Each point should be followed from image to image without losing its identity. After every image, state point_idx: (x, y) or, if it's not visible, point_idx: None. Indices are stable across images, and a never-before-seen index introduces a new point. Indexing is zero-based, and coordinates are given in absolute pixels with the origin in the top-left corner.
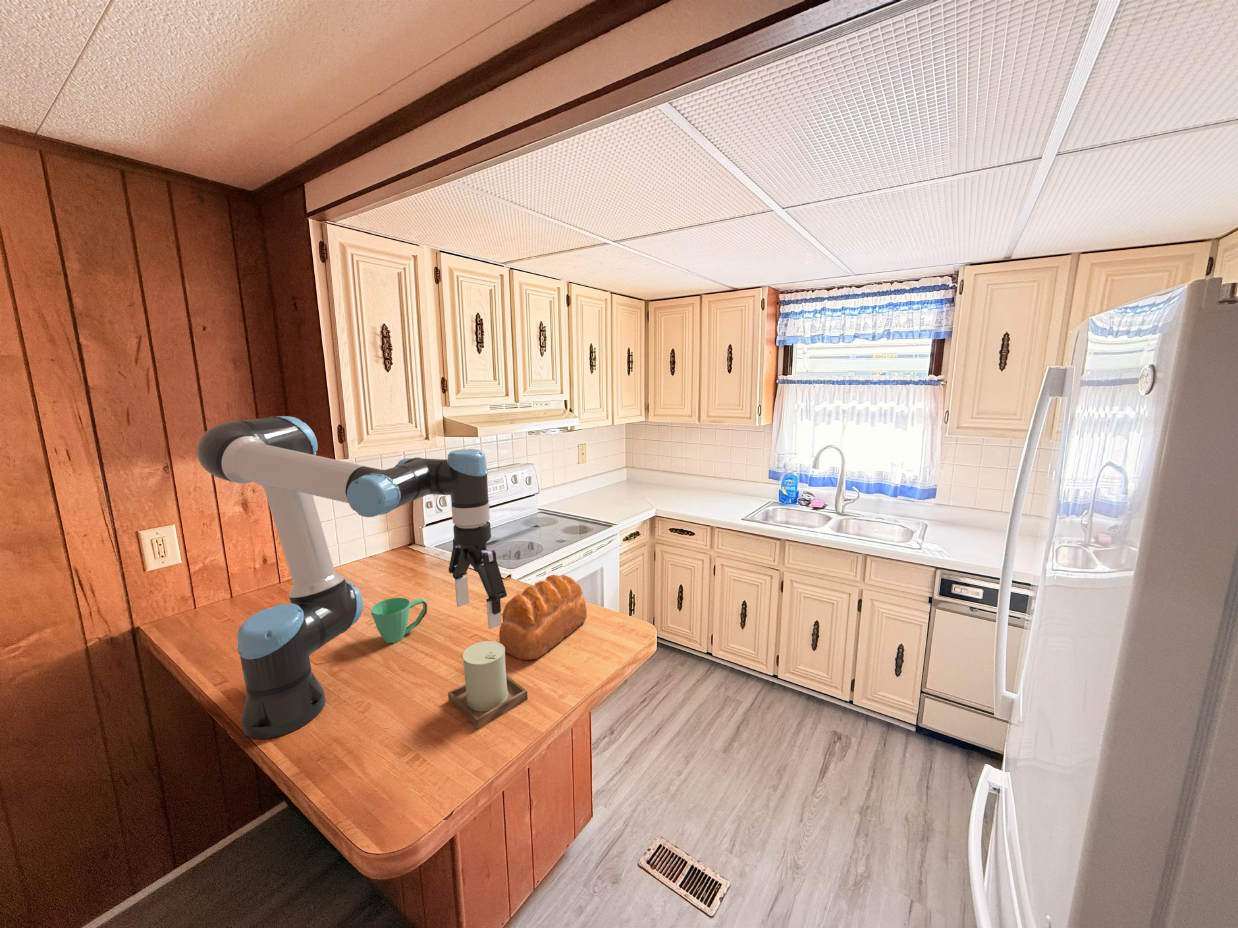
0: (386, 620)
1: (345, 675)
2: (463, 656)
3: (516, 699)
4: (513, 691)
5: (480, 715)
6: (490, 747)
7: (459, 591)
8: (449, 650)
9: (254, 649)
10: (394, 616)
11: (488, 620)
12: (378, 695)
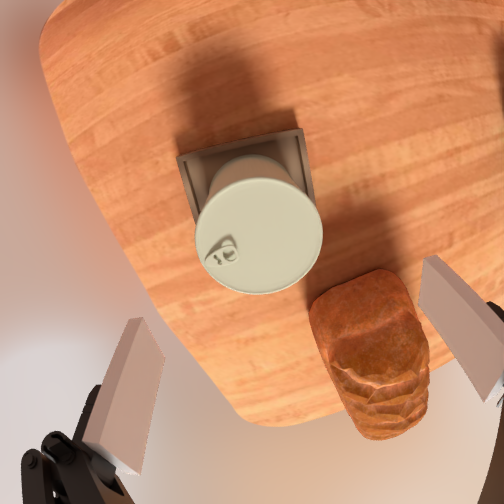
0: None
1: (467, 28)
2: (274, 180)
3: None
4: None
5: (206, 168)
6: (124, 164)
7: (465, 316)
8: (444, 188)
9: None
10: None
11: (128, 344)
12: (393, 34)
